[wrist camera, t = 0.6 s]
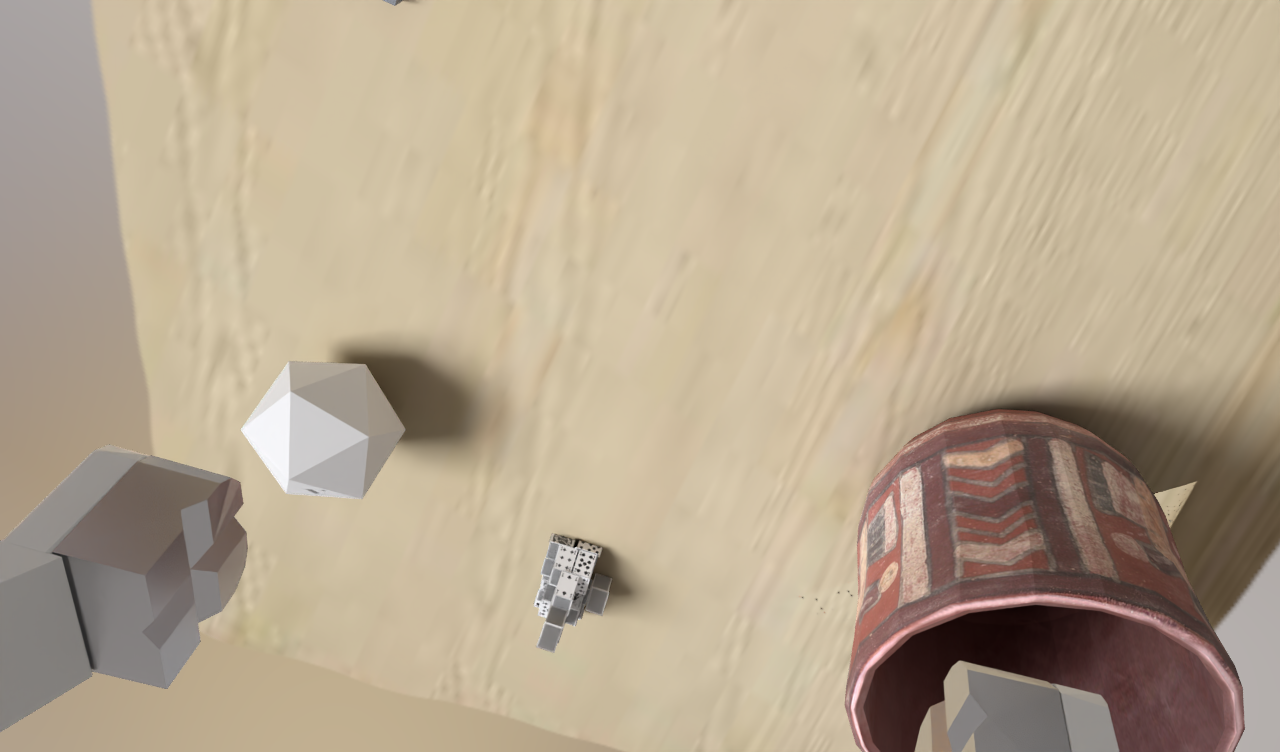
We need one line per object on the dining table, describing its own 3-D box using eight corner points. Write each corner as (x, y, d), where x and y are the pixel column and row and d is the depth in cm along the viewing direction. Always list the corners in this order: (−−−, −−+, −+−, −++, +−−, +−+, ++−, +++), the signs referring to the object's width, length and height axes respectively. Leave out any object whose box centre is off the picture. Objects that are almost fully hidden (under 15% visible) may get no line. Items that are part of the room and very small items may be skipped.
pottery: (1039, 311, 56) (1102, 531, 41) (1211, 506, 61) (1322, 765, 46) (794, 464, 64) (774, 689, 50) (962, 623, 69) (988, 870, 55)
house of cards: (639, 641, 77) (619, 724, 71) (532, 607, 77) (502, 687, 71) (669, 563, 72) (651, 645, 66) (554, 526, 72) (524, 604, 66)
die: (316, 435, 71) (245, 531, 63) (282, 326, 66) (200, 414, 58) (429, 441, 69) (371, 541, 61) (403, 330, 64) (336, 422, 56)
